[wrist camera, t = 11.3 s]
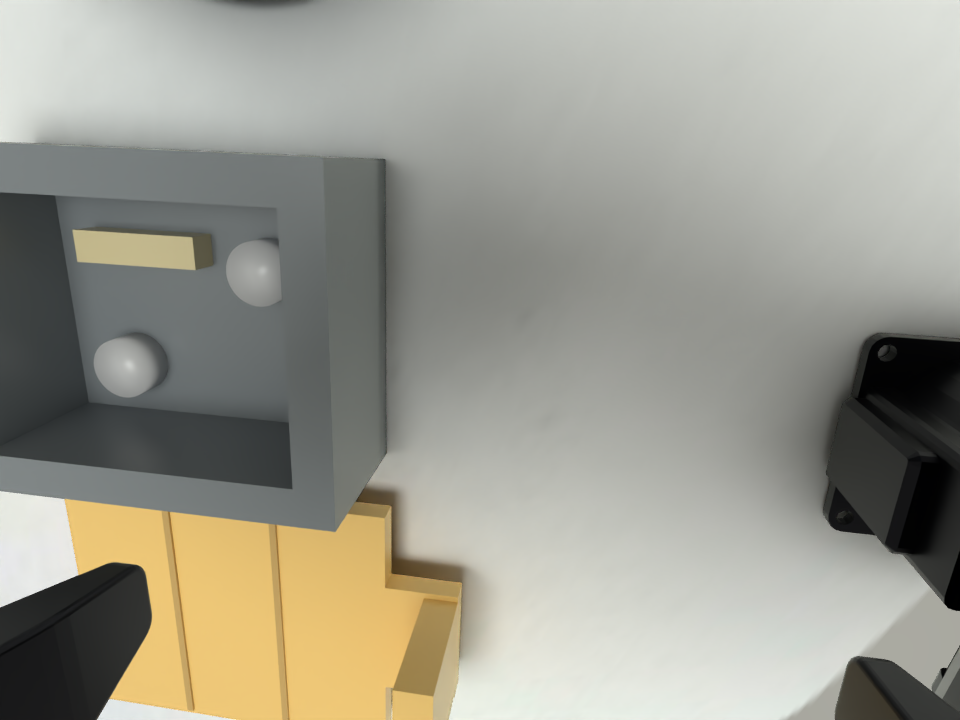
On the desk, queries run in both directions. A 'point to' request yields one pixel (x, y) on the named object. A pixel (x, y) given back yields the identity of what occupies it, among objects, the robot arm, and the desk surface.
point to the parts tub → (192, 330)
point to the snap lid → (278, 616)
